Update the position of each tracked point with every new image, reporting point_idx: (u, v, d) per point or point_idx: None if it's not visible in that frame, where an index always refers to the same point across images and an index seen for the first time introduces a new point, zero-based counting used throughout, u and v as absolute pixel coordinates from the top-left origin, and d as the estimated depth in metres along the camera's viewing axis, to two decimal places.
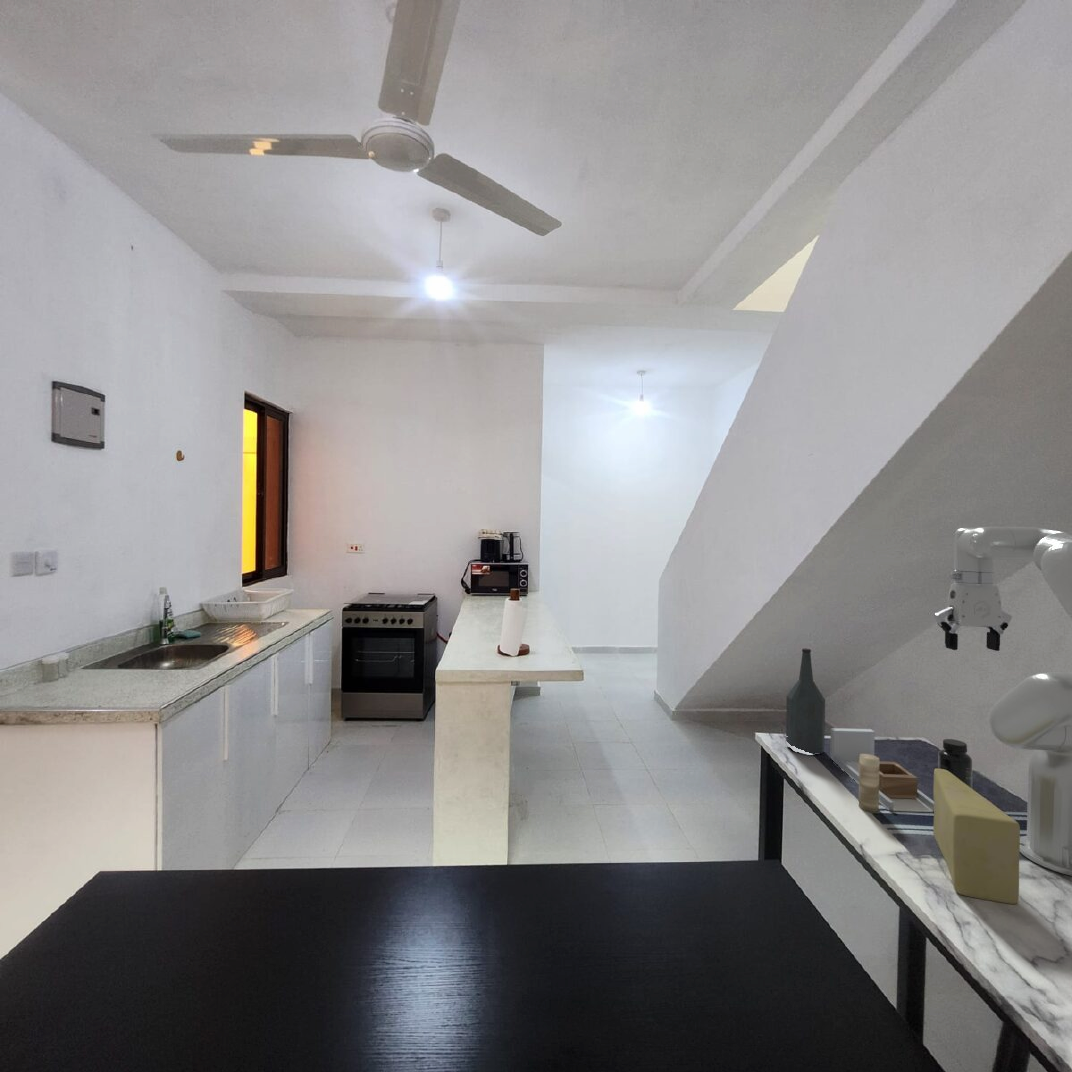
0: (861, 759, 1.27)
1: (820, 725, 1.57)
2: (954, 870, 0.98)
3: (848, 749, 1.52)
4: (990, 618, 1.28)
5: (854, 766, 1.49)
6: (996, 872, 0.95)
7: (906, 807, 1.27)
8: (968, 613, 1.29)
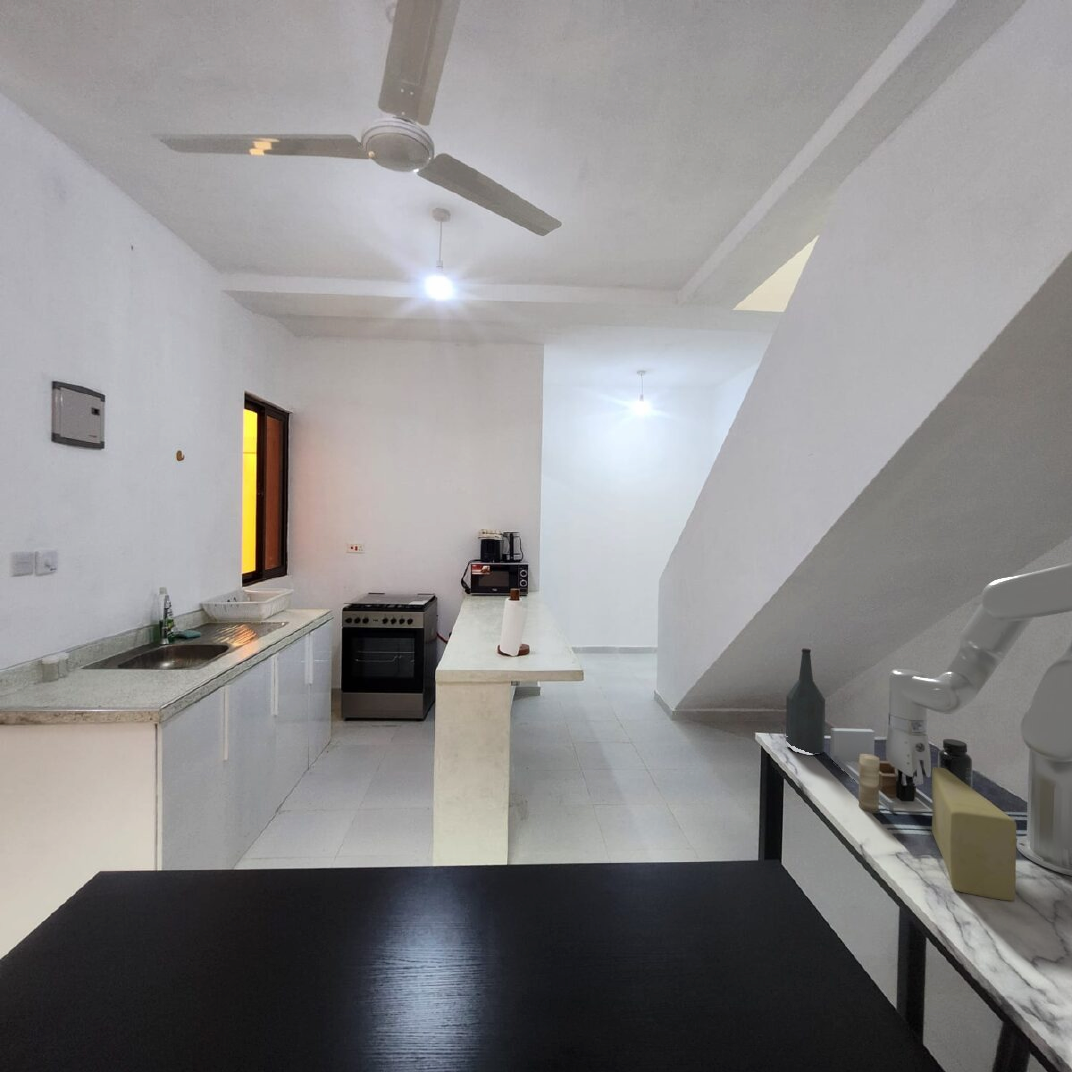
0: (861, 759, 1.27)
1: (820, 725, 1.57)
2: (951, 867, 0.99)
3: (848, 749, 1.52)
4: None
5: (854, 766, 1.49)
6: (993, 869, 0.96)
7: (906, 807, 1.27)
8: None
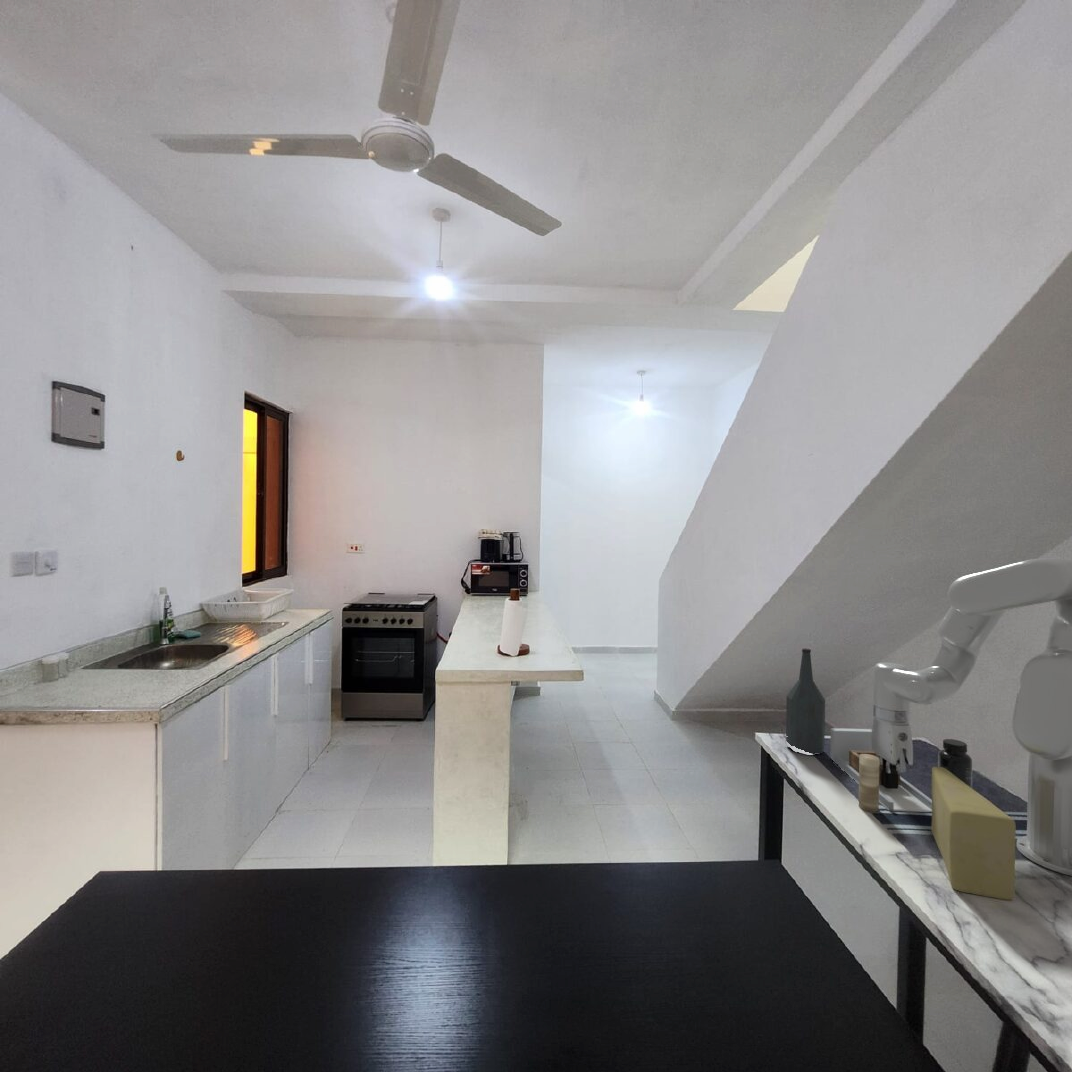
0: (861, 759, 1.27)
1: (820, 725, 1.57)
2: (950, 866, 0.99)
3: (848, 749, 1.52)
4: None
5: None
6: (992, 868, 0.96)
7: (906, 807, 1.27)
8: None
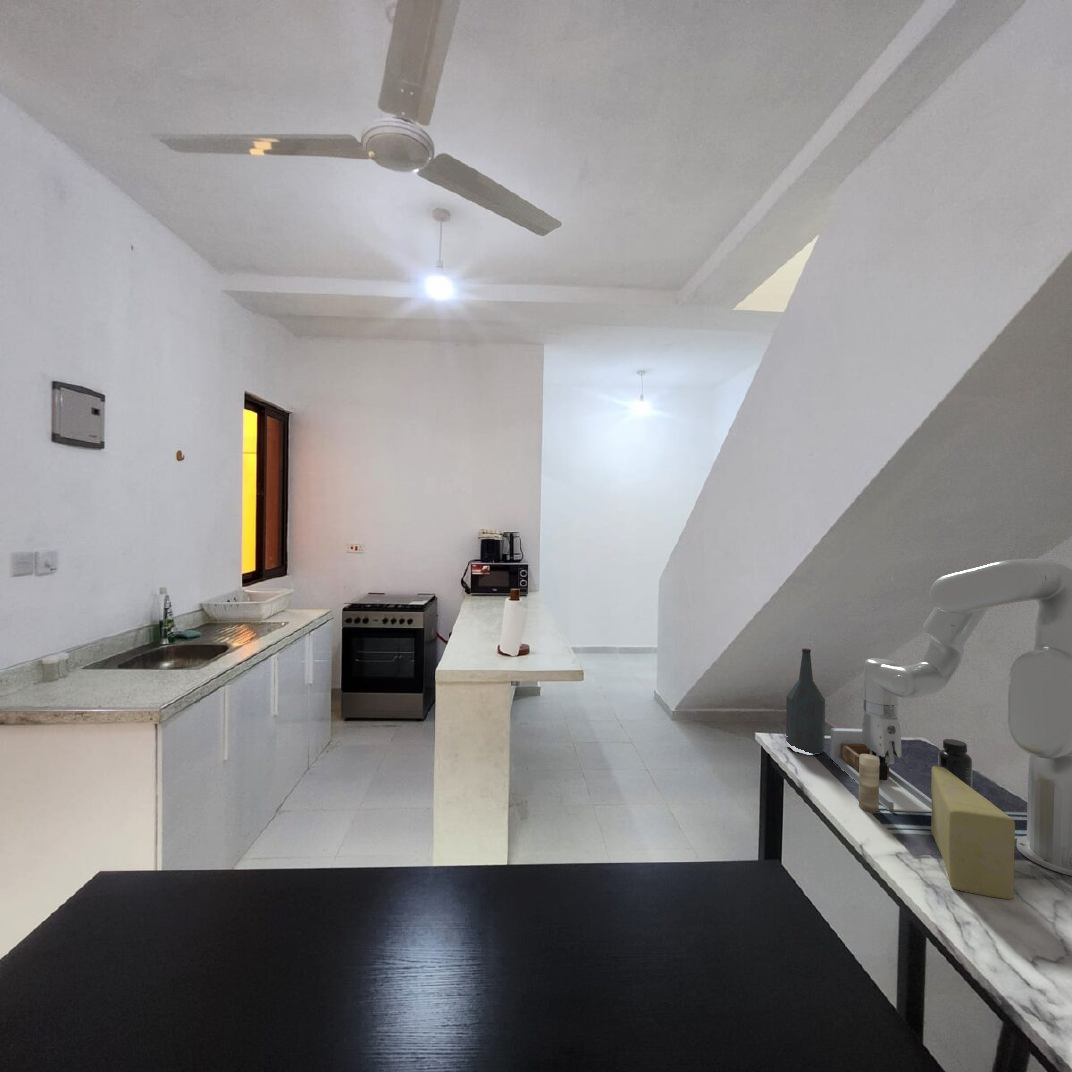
0: (861, 759, 1.27)
1: (820, 725, 1.57)
2: (950, 865, 0.99)
3: None
4: None
5: None
6: (991, 867, 0.97)
7: (906, 807, 1.27)
8: None
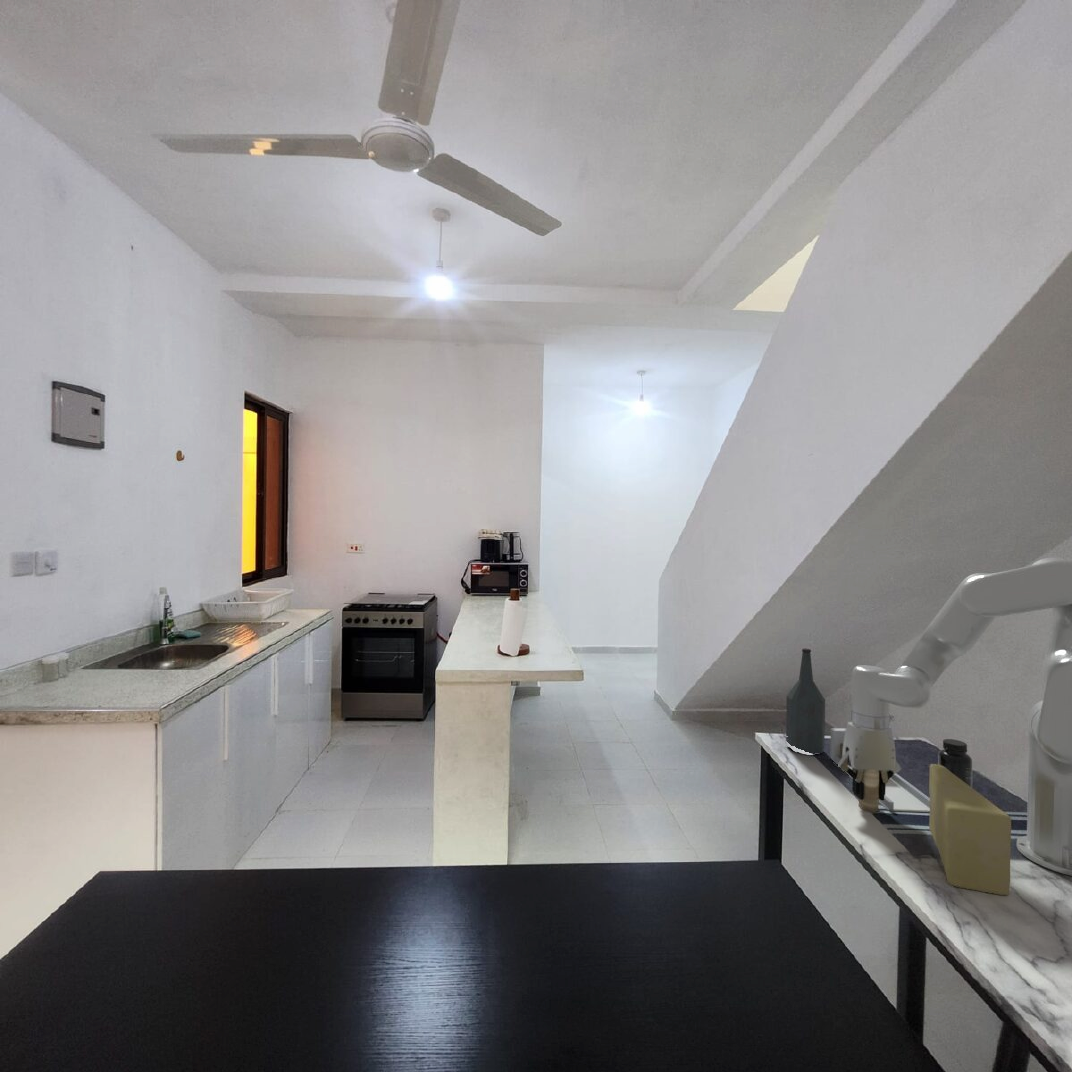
0: None
1: (820, 725, 1.57)
2: (946, 862, 1.00)
3: None
4: None
5: None
6: (988, 864, 0.98)
7: (906, 807, 1.27)
8: None
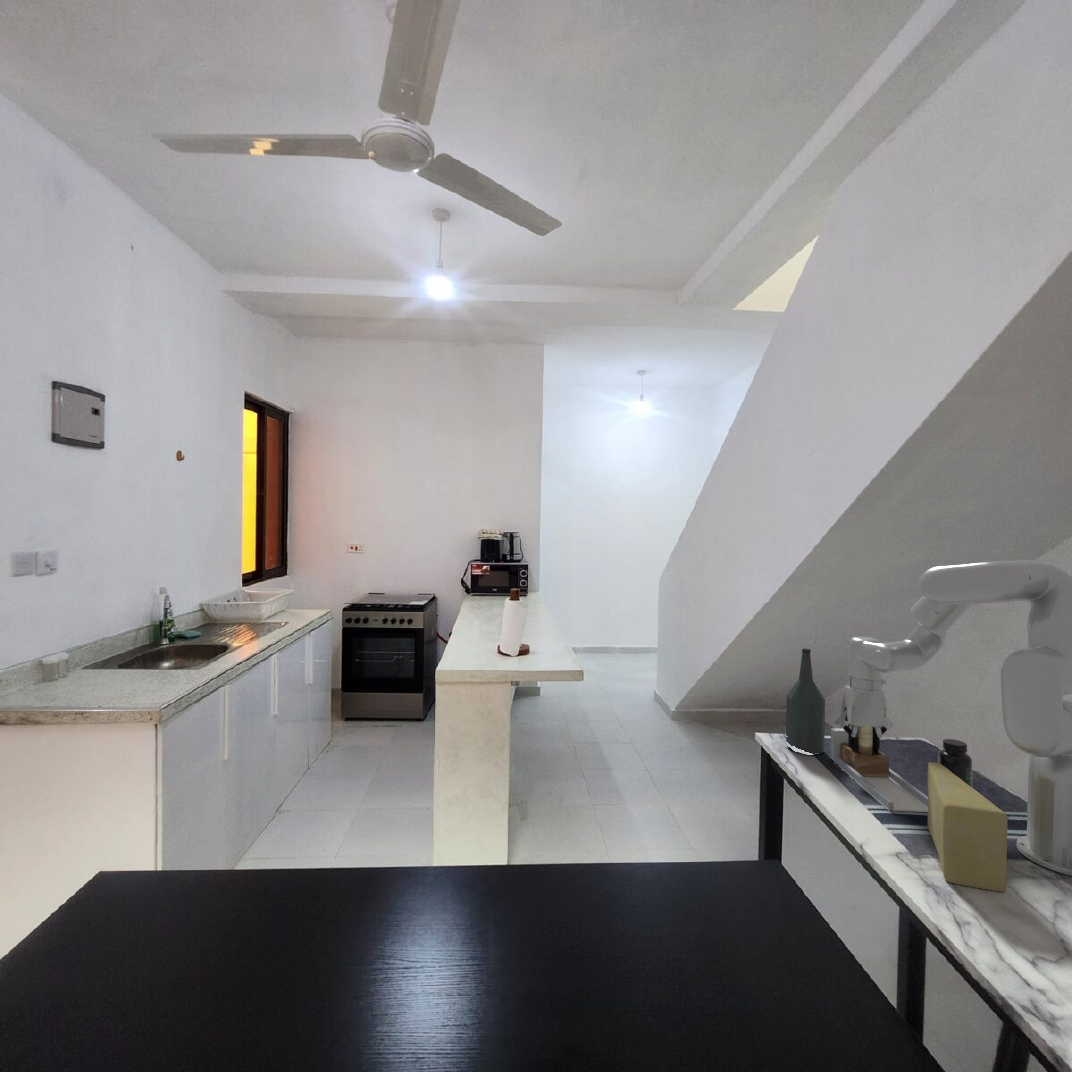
0: None
1: (820, 725, 1.57)
2: (943, 859, 1.01)
3: None
4: None
5: None
6: (984, 860, 0.98)
7: (906, 807, 1.27)
8: None
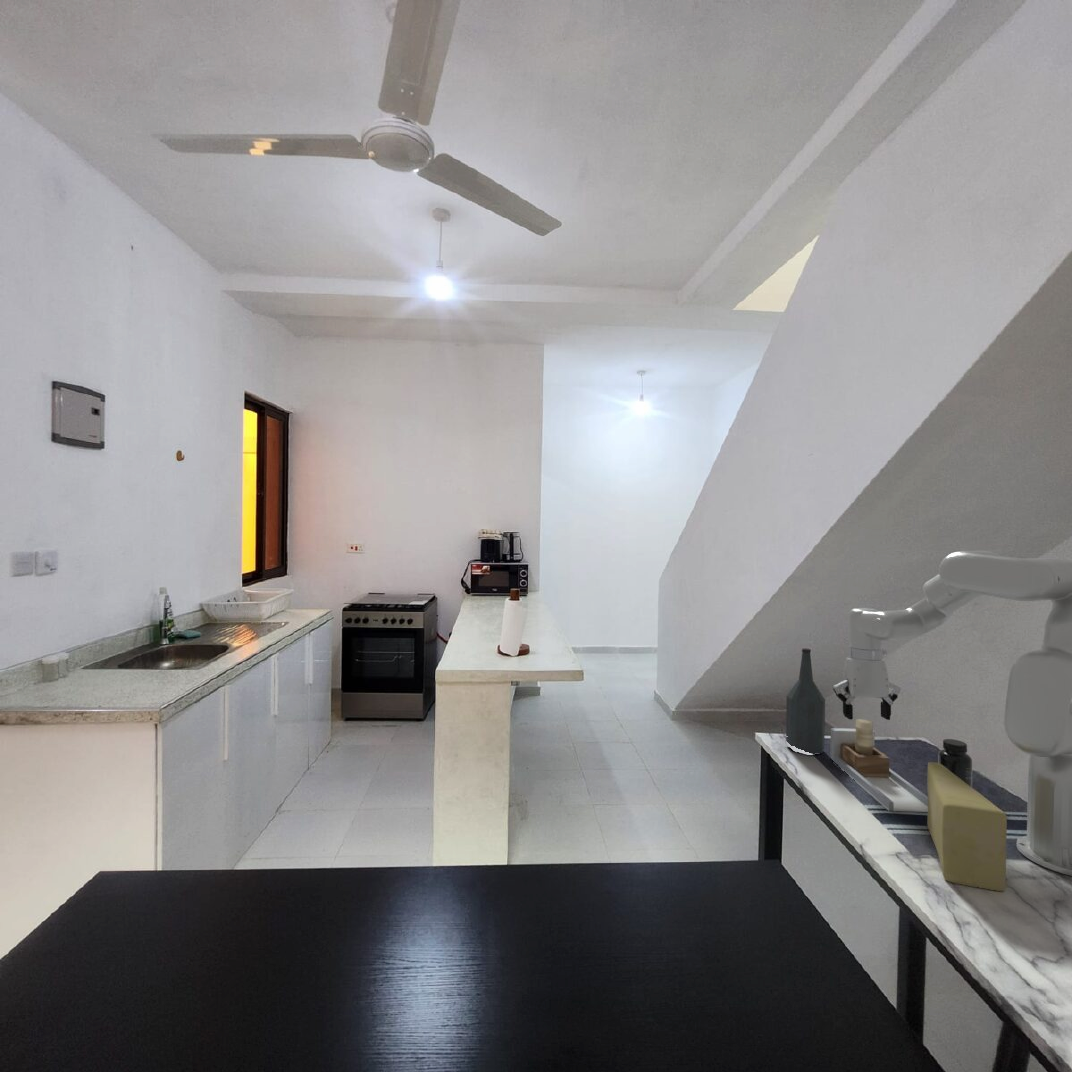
0: (857, 723, 1.47)
1: (820, 725, 1.57)
2: (943, 858, 1.01)
3: None
4: None
5: None
6: (984, 860, 0.99)
7: (906, 807, 1.27)
8: None
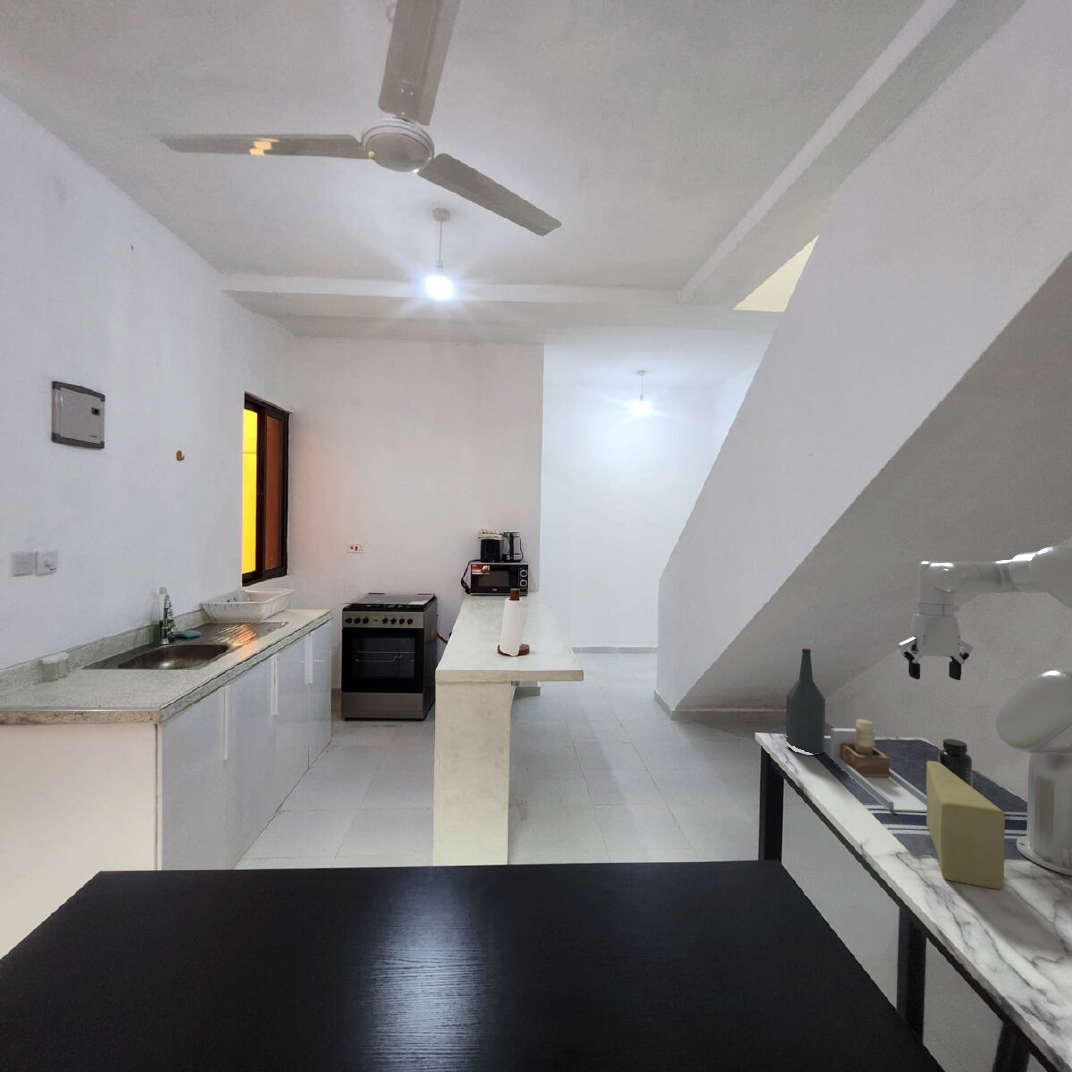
0: (857, 723, 1.47)
1: (820, 725, 1.57)
2: (941, 856, 1.02)
3: None
4: None
5: None
6: (982, 858, 0.99)
7: (906, 807, 1.27)
8: None
